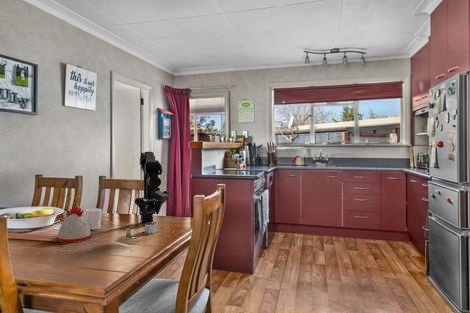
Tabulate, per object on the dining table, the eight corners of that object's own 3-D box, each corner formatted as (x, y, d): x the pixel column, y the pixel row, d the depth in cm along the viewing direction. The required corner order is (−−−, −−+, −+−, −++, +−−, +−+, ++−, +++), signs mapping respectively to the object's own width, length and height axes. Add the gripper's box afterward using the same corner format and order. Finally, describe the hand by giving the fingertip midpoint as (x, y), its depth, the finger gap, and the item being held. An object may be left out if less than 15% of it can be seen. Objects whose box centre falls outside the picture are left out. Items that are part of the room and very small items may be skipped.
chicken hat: (76, 244, 135) (77, 210, 134) (50, 241, 137) (51, 208, 137) (96, 235, 148) (97, 205, 148) (72, 233, 151) (73, 203, 151)
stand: (140, 234, 153) (141, 223, 153) (150, 231, 159) (150, 221, 159) (151, 236, 150) (151, 225, 150) (160, 233, 156) (161, 222, 156)
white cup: (97, 230, 158) (97, 211, 158) (82, 229, 158) (82, 210, 158) (103, 226, 166) (104, 208, 165) (89, 226, 166) (90, 208, 166)
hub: (117, 239, 143) (117, 229, 143) (128, 236, 149) (128, 226, 149) (128, 242, 140) (128, 231, 140) (139, 238, 146) (139, 228, 146)
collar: (142, 232, 153) (142, 223, 153) (150, 229, 158) (150, 221, 158) (151, 234, 150) (151, 225, 150) (159, 231, 156) (159, 223, 156)
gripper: (152, 188, 142) (151, 221, 142) (176, 185, 159) (175, 214, 159) (134, 186, 147) (133, 218, 147) (159, 183, 164) (158, 212, 164)
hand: (151, 216), depth 154 cm, fingers open, 9 cm apart
